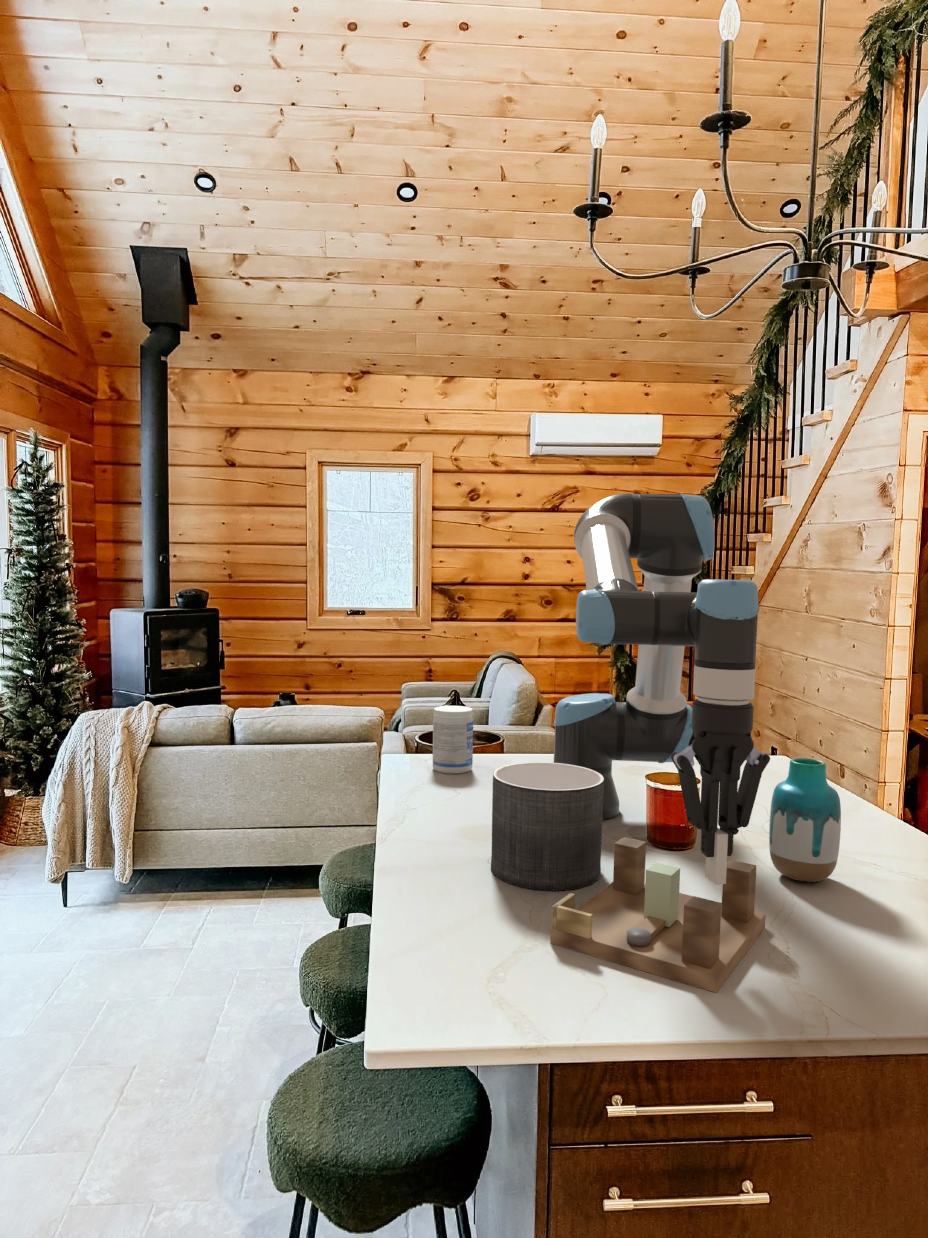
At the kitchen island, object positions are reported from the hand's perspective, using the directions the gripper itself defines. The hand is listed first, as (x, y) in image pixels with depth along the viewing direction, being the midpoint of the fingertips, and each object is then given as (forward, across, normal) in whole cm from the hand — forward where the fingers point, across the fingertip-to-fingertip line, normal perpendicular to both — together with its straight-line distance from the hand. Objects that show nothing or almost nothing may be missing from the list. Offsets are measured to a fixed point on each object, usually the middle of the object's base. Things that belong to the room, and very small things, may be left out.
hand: (715, 880), depth 111 cm
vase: (+9, -27, -22) cm, 36 cm away
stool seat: (+9, +5, -5) cm, 12 cm away
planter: (+9, +13, -31) cm, 35 cm away
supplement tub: (+9, +16, -97) cm, 99 cm away
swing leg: (+7, +8, -3) cm, 11 cm away
